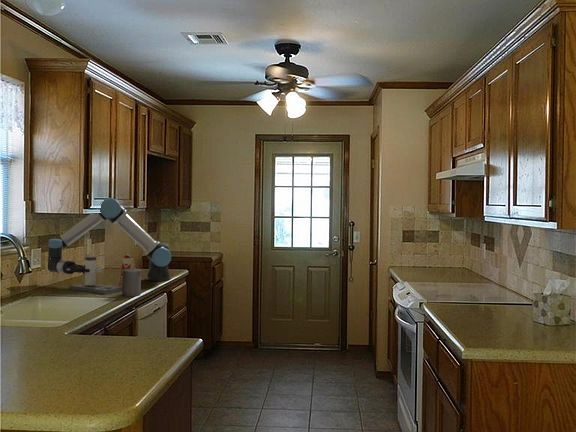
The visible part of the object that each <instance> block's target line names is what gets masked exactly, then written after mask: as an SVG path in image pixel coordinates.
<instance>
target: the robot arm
mask: <svg viewBox="0 0 576 432" xmlns="http://www.w3.org/2000/svg"><path fill="white" fill-rule="evenodd" d="M103 200H104V201H103ZM103 200H102V201H103V202H102V201H101V203H102V204H101V203H100V204H101V208H100V212H101V213H97V214H91V213H90V214H88V215H87V216H85V218H83V219H81V220H80V221H79V222H78V223H76V224H75V225H73V226H72V227H71V228H69V229H68V230H67V231H66V232H64V233H63V234H62V235H60V236H59V237H60V238H59V237H58V238H59V239H58V238H50V239H48V242H49V244H48V243H47V246H48V247H47V250H48V251H47V252H48V253H47V259H48V270H49V271H48V272H50V273H58V274H62V275H65V274H67V275H72V274H74V273H79V274H80V273H82V275H83V274H84V275H85V273H93V274H95V269H94V268H85V264H77V263H76V262H75V261H74V260H73V261H72V260H63V251H64V250H65V249H67V248H68V247H69V246H71V245H72V244H73V243H75V242H76V241H78V240H79V239H80V238H82V236H84V235H85V234H86V233H88V232H89V231H90V230H92V229H93V228H94V227H96V226H98V225H99V224H100V223H101V222H105V221H107V220H108V221H109V222H111V224H116V225H117V226H118V227H119V228H120V229H121V230H122V231H123V232H125V233H126V235H127V236H128V237H130V238H131V239H132V240H133V241H134V242H135V243H136V244H137V245H138V246H139V247H140V248H141V249H142V250H143V251H144V252H145V256H146V257H147V258H148V259H149V267H148V270H147V273H146V280H147V281H152V282H166V281H170V280H171V274H170V270H169V264H170V262H171V261H172V253H171V251H170V250H169V249H170V247H169V244H168V243H162V242H160V241H159V240H155V239H153V237H152V236H151V235H150V234H148V232H147V231H146V230H144V228H142V227H141V226H140V225H139V224H138V223H137V222H136V221H135V220H134V219H133V218H132V217H131V216H130V215H129V214H128V212H127V211H128V210H127V209H126V208H125V207H124V206H123V205H122V204H121V203H120V201H118V200H117V199H116V198H114V197H109V198H105V199H103ZM50 258H51V259H50ZM96 273H100V274H101V273H102V268H101V267H98V266H96Z"/></svg>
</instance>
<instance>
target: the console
mask: <svg viewBox="0 0 576 432" xmlns="http://www.w3.org/2000/svg"><path fill="white" fill-rule="evenodd" d="M71 289H72V291H78V292H87V293H92V292H93V293H94V294H102V295H108V294H113V293H114V294H115V293H117V292H118V293H119V292H122V287H118V285H110V284H108V285H107V284H101V283H96V282H95V285H85V282H83V283H79V284H74V285H73V284H72V285H69V290H71ZM93 293H92V294H93Z"/></svg>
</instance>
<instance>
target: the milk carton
mask: <svg viewBox="0 0 576 432" xmlns="http://www.w3.org/2000/svg"><path fill="white" fill-rule="evenodd" d="M135 264H136V263H135V258H133V257H132V256H131V254H129V253H128V252H126V255H124V256H123V257H122V262H121V266H120V270H119V271H120V272H119V278H118V283H117V286H118V287H122V284H123V270H124V269H136V265H135Z"/></svg>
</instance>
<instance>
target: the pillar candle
mask: <svg viewBox="0 0 576 432" xmlns="http://www.w3.org/2000/svg"><path fill="white" fill-rule="evenodd" d="M141 283H142V269H139V268H135V269H124V270H123V284H122V291H121V295H122V296H123V297H139V296H140V295H141V289H142V288H141V287H142V286H141V285H142V284H141Z"/></svg>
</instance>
